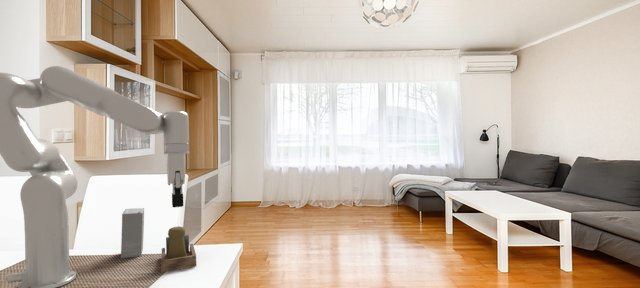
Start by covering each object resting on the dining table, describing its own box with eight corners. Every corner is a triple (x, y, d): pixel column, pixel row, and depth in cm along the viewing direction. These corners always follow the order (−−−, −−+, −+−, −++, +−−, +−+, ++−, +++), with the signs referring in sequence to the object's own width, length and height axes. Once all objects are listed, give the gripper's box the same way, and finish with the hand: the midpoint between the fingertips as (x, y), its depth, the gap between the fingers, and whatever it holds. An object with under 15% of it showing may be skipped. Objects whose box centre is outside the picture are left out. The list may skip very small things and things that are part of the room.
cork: (181, 264, 101) (181, 229, 101) (163, 264, 102) (162, 229, 102) (190, 257, 107) (189, 224, 107) (172, 257, 108) (172, 225, 108)
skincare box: (123, 252, 117) (122, 208, 117) (145, 249, 120) (144, 206, 120) (120, 259, 109) (119, 213, 109) (143, 256, 112) (142, 211, 112)
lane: (161, 272, 97) (161, 261, 97) (161, 257, 110) (161, 248, 110) (196, 266, 102) (196, 255, 102) (192, 252, 114) (192, 243, 114)
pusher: (166, 255, 109) (166, 238, 109) (166, 254, 110) (166, 237, 110) (189, 252, 112) (188, 235, 112) (188, 251, 113) (188, 234, 113)
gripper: (163, 149, 109) (164, 203, 109) (163, 150, 94) (164, 211, 94) (187, 149, 112) (188, 200, 112) (190, 149, 98) (192, 209, 98)
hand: (177, 205), depth 103 cm, fingers open, 3 cm apart
